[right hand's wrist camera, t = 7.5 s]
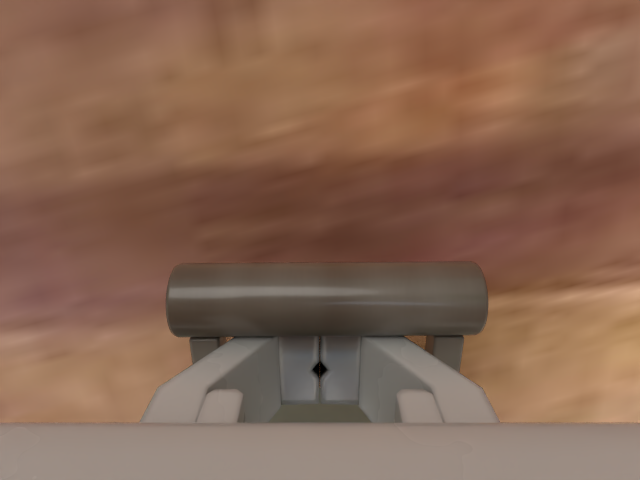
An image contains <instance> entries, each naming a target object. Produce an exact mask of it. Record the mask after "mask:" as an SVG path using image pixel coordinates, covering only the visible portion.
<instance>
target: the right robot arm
mask: <svg viewBox="0 0 640 480" xmlns="http://www.w3.org/2000/svg"><path fill="white" fill-rule="evenodd" d="M319 370H320V398H321V404H342V405H359V408H360V409H361V410H362V411H363V413H364V414H365V415H366V416H367V417H368V419H369V420H370V421H371V422H372V423H268V422H269V421H270V420H271V419H272V417H273V416H274V415H275V414H276V412H277V411H278V410H279V409H280V408H281V405H297V404H319ZM0 480H640V423H500V421H499V419H498V417H497V415H496V413H495V411H494V410H493V408H492V406H491V404H490V402H489V400H488V398H487V396H486V394H485V392H484V390H483V388H481V387H480V386H478V385H477V384H475V383H474V382H472V381H471V380H469V379H468V378H466V377H465V376H463V375H462V374H460V373H459V372H457V371H456V370H454V369H453V368H451V367H450V366H448V365H446V364H445V363H443V362H442V361H440V360H439V359H437V358H436V357H434V356H433V355H431V354H430V353H428V352H427V351H425V350H424V349H422V348H421V347H419V346H418V345H416V344H415V343H413V342H412V341H410V340H409V339H407V338H405V337H404V336H286V337H234V338H233V339H231V340H230V341H228V342H226V343H225V344H223V345H222V346H220V347H219V348H217V349H216V350H214V351H213V352H211V353H210V354H208V355H207V356H205V357H204V358H202V359H201V360H199V361H197V362H196V363H194V364H193V365H191V366H190V367H188V368H187V369H185V370H184V371H182V372H181V373H179V374H178V375H176V376H175V377H173V378H172V379H170V380H168V381H167V382H165V383H164V384H162V385H161V386H159V387H158V388H157V390H156V392H155V394H154V396H153V397H152V399H151V401H150V403H149V405H148V407H147V409H146V411H145V413H144V414H143V416H142V418H141V420H140V422H139V423H0Z"/></svg>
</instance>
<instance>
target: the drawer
mask: <svg viewBox="0 0 640 480" xmlns="http://www.w3.org/2000/svg"><path fill="white" fill-rule="evenodd" d="M487 314H488V292H487V286H486V282H485V278H484V275H483V273H482V270H481V269H480V267H479V266H478V265H477V264H476V263H474V262H471V261H461V262H315V263H182V264H179V265H177V266H176V267H175V268H174V269H173V271H172V273H171V275H170V278H169V282H168V286H167V292H166V315H167V322H168V326H169V329H170V331H171V333H172V334H173V335H175V336H177V337H191V338H190V340H189V341H190V348H191V355H192V362H193V364H194V363H196V362H197V361H199V360H201V359H202V358H204V357H205V356H207V355H208V354H210V353H211V352H213V351H214V350H216V349H217V348H219V347H220V346H222V345H223V344H225V343H226V337H286V336H427V337H426V346H425V351H427V352H428V353H430V354H431V355H433V356H434V357H436V358H437V359H439V360H440V361H442V362H443V363H445V364H446V365H448V366H450V367H451V368H453V369H454V370H456V371H457V372H459V370H460V363H461V357H462V350H463V343H464V337H463V335H477V334H479V333H481V332H482V330H483V329H484V327H485V324H486V320H487ZM268 423H372V422H371V421H370V420H369V419H368V417H367V416H366V415H365V414H364V413H363V411H362V410H361V409H360V408H359V405H342V404H321V398H320V388H319V404H297V405H281V408H280V409H279V410H278V411H277V412H276V414H275V415H274V416H273V417H272V419H271V420H270V421H269V422H268Z"/></svg>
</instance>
